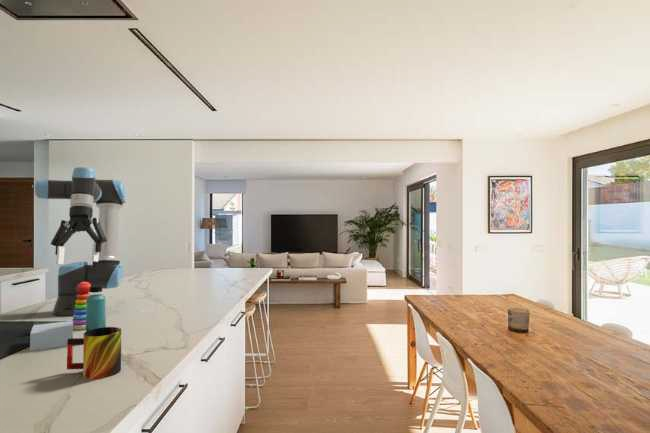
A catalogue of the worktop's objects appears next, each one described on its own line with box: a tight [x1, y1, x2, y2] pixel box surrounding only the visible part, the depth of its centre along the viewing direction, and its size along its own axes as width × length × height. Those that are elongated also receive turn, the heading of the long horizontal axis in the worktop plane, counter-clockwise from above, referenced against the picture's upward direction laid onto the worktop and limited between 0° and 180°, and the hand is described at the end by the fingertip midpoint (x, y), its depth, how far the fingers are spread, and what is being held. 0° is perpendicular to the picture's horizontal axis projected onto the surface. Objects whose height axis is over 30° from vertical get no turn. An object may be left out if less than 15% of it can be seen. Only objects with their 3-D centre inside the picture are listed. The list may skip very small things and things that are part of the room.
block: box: [29, 320, 74, 352], centre depth 141 cm, size 12×12×6 cm
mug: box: [66, 326, 122, 380], centre depth 114 cm, size 10×14×12 cm
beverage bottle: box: [85, 286, 107, 332], centre depth 145 cm, size 6×7×20 cm
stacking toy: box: [71, 282, 92, 331], centre depth 161 cm, size 8×8×19 cm
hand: (77, 262), depth 145 cm, fingers open, 13 cm apart
